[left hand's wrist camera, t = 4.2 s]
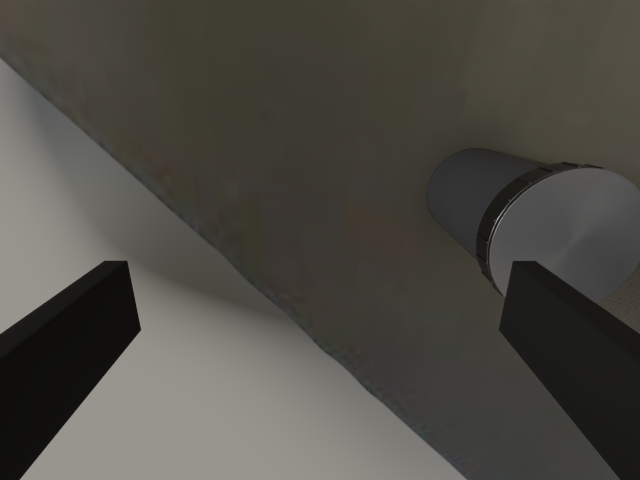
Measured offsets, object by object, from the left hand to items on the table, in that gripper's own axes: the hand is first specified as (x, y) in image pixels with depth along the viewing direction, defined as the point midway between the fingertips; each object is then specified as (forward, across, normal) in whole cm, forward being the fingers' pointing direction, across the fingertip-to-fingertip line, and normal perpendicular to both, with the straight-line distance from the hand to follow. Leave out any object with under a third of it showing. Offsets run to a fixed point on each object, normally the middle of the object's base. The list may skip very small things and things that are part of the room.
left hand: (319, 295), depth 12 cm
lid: (+12, +17, -2) cm, 20 cm away
